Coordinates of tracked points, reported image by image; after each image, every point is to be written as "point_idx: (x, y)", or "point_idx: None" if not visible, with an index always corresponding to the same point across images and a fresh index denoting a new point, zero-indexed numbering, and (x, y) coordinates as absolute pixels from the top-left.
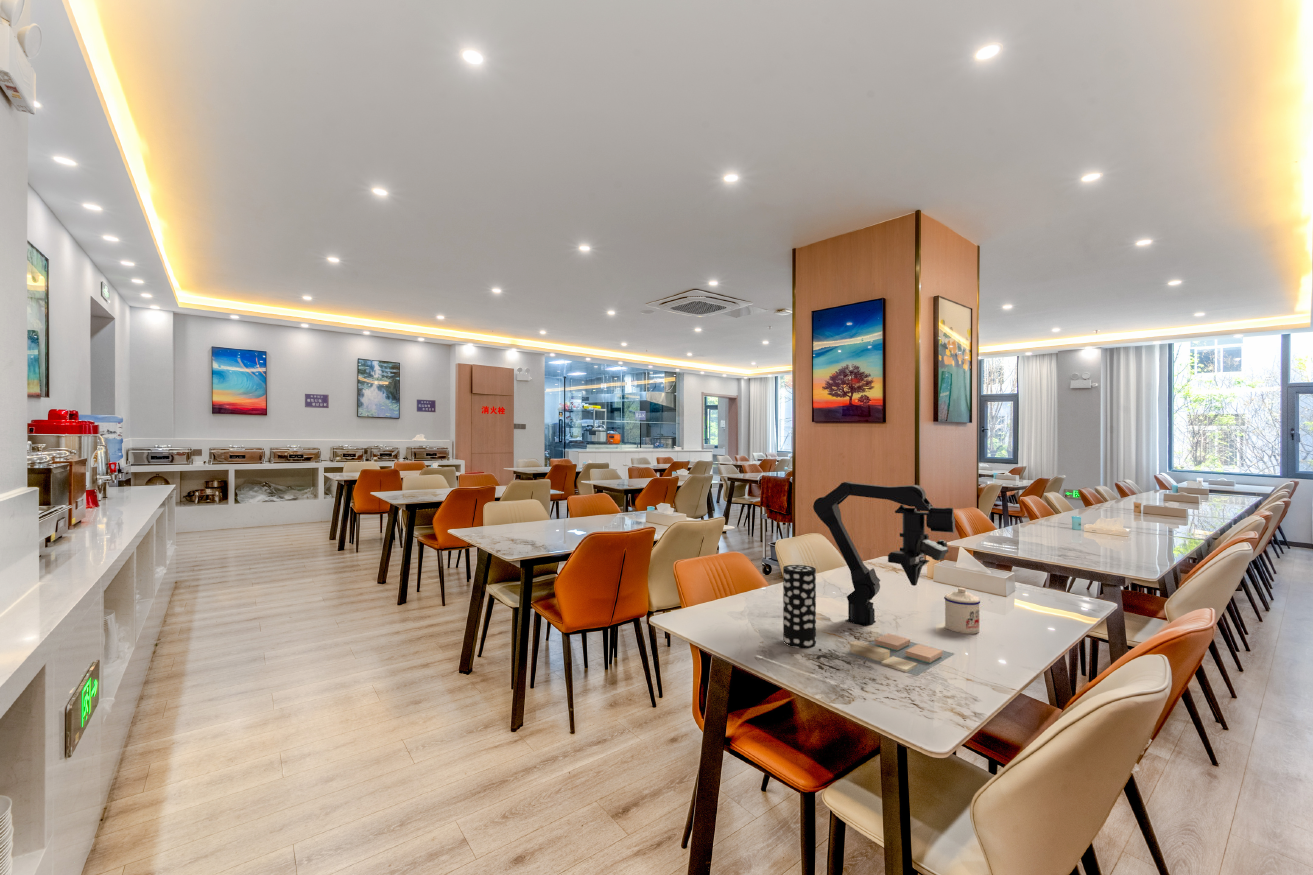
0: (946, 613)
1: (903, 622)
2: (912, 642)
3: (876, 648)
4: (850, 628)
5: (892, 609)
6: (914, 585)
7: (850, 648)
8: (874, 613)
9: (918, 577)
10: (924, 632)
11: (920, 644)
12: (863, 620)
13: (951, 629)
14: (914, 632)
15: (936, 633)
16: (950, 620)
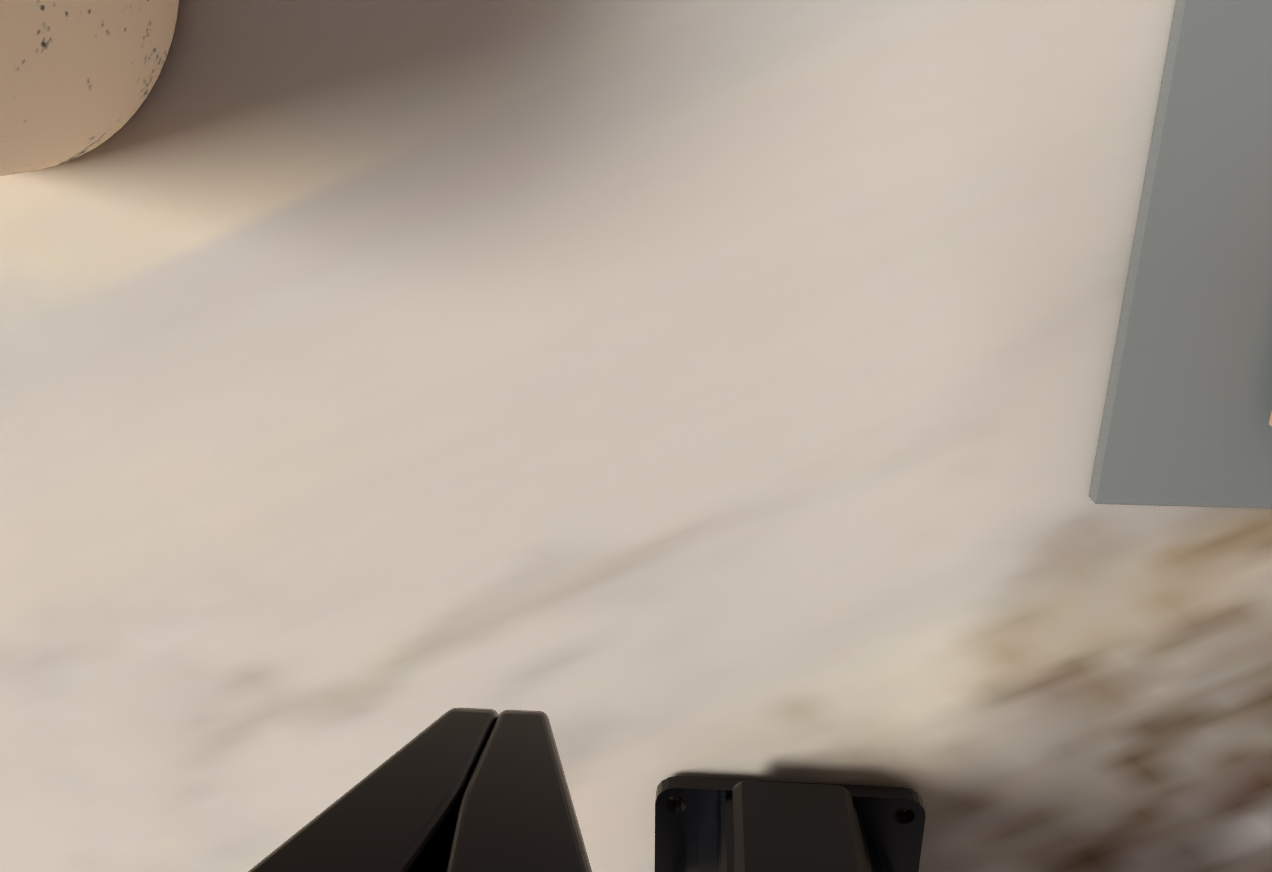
0: (3, 116)
1: (372, 590)
2: (1169, 143)
3: None
4: (1062, 868)
5: (29, 853)
6: (550, 726)
7: None
8: (745, 860)
9: (305, 854)
10: (542, 249)
11: (1185, 23)
12: (875, 866)
13: (174, 7)
14: (646, 337)
15: (452, 117)
16: (98, 18)
